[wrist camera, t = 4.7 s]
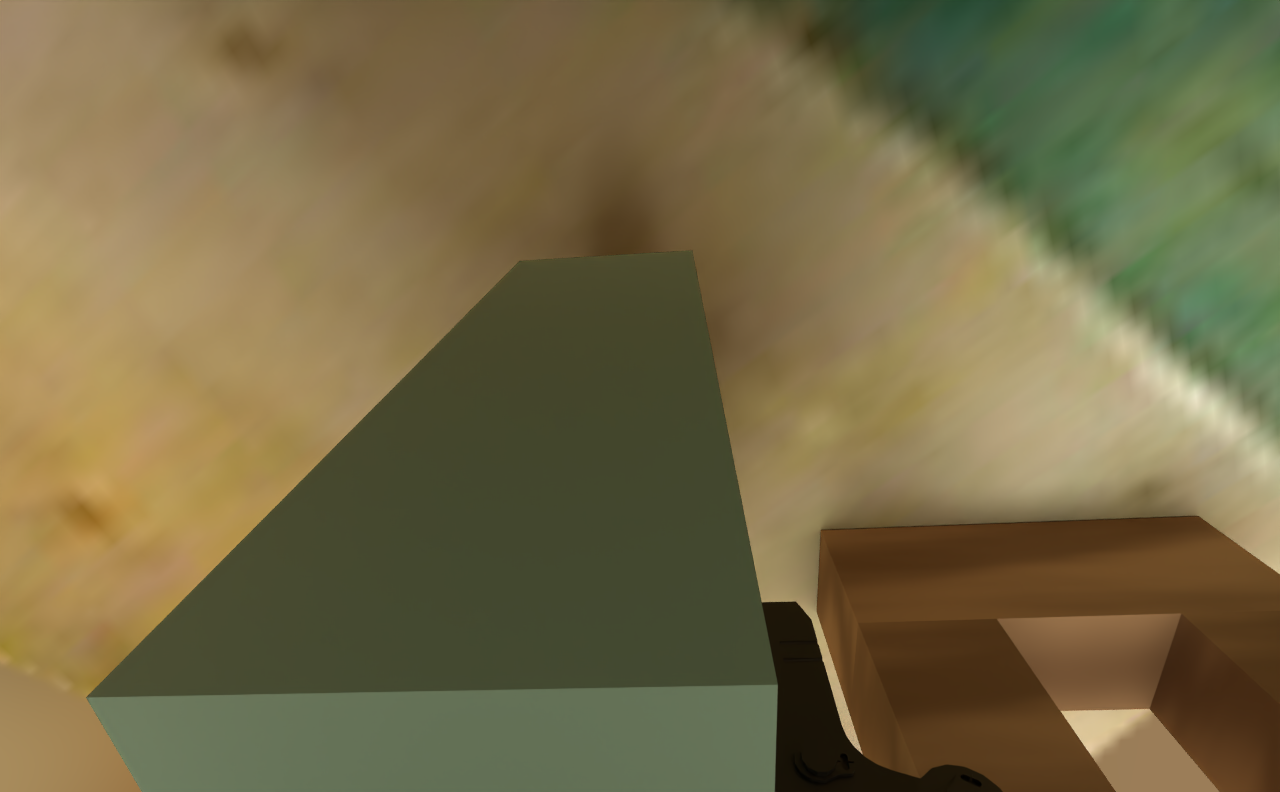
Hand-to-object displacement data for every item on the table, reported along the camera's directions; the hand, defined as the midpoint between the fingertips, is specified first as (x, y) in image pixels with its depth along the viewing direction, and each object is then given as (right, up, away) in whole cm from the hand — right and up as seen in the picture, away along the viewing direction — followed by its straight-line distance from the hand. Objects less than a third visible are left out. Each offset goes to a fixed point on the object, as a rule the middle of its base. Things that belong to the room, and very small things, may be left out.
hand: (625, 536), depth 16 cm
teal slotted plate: (0, -1, +2) cm, 2 cm away
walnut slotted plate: (+15, -3, +9) cm, 17 cm away
